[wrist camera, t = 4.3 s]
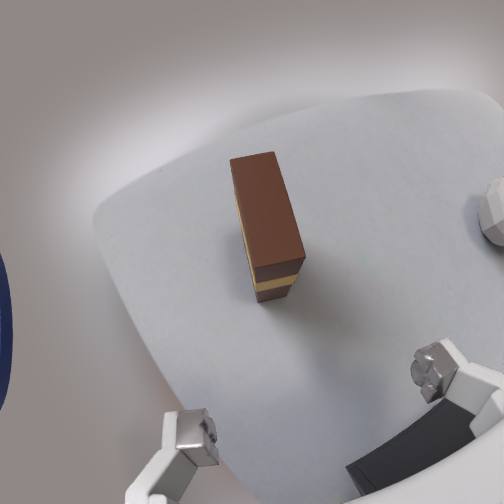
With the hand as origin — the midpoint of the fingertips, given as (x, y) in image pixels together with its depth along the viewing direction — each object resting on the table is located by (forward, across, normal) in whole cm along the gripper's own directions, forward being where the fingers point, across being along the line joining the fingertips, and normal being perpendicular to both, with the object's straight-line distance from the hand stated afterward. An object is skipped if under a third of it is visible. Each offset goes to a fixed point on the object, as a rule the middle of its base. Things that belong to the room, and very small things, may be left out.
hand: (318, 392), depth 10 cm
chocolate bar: (+15, 0, +3) cm, 16 cm away
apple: (+14, -26, +4) cm, 30 cm away
